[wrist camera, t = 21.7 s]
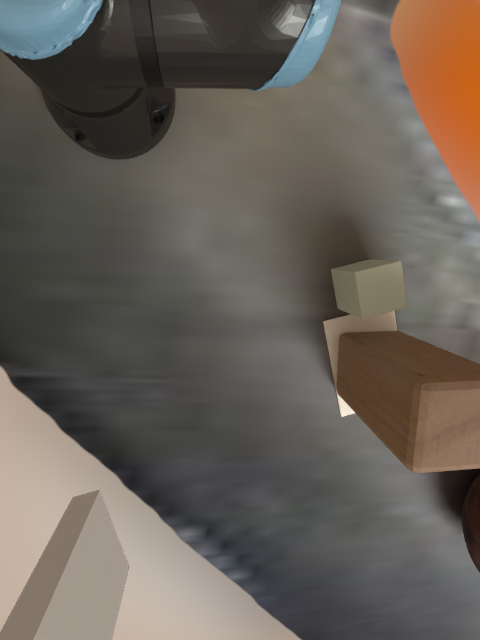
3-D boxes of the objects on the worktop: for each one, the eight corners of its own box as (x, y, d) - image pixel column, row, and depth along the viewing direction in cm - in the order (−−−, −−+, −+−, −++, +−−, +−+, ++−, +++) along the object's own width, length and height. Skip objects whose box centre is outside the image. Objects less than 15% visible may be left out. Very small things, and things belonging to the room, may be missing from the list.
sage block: (330, 269, 48) (354, 272, 41) (369, 259, 49) (401, 260, 41) (337, 308, 50) (362, 319, 42) (375, 298, 50) (407, 307, 42)
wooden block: (336, 331, 50) (421, 381, 31) (400, 329, 51) (520, 376, 32) (333, 393, 52) (410, 478, 33) (394, 390, 53) (504, 470, 34)
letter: (322, 321, 50) (323, 321, 50) (392, 303, 50) (393, 303, 50) (340, 416, 53) (341, 416, 53) (405, 398, 54) (406, 398, 54)
